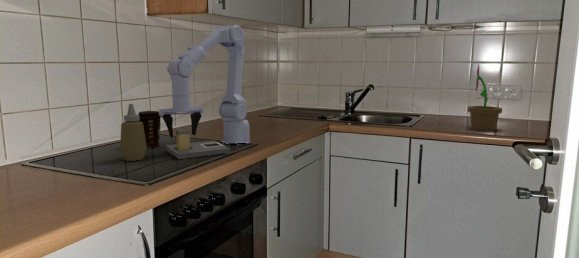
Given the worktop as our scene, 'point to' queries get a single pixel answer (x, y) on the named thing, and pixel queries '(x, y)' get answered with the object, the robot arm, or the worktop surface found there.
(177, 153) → the socket panel
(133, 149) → the squeeze bottle
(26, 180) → the worktop surface
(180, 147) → the plug
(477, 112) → the flowerpot
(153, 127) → the coffee cup
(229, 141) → the robot arm
